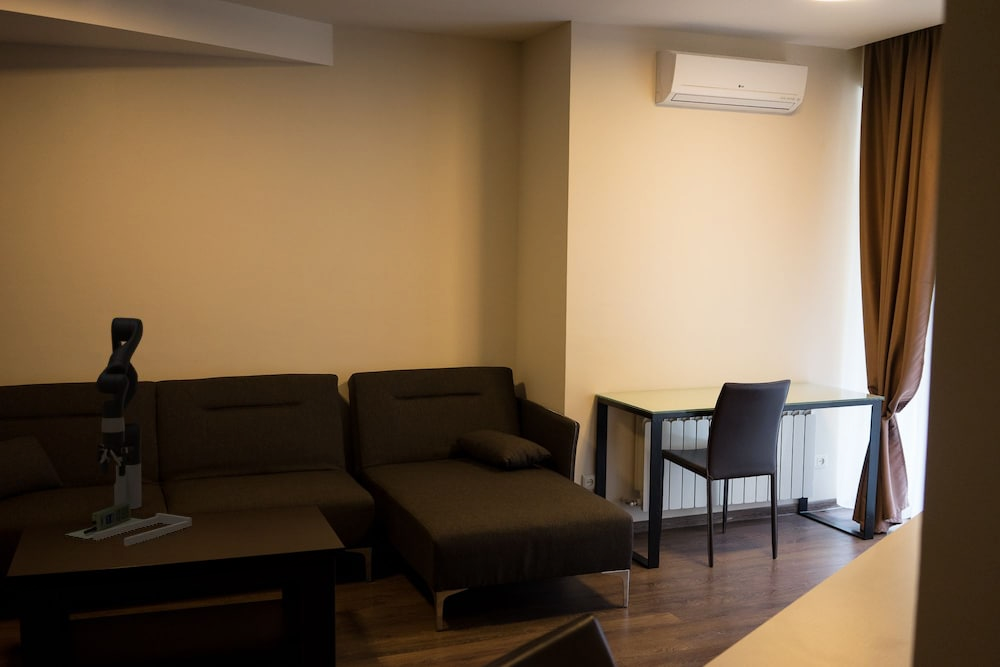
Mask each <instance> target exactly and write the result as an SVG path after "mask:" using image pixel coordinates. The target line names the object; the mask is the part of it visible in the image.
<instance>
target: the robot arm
mask: <svg viewBox="0 0 1000 667" xmlns="http://www.w3.org/2000/svg"><path fill="white" fill-rule="evenodd" d="M110 324H111V325H110V335H111V337H110V338H111V350H112V351H111V352H112V353H111V355H110V357H109V359H108V362H107V366H106V367H105V368H104V369H103V371H101V373H100V374H99V376H98V377H97V379H96V383H95V384H96V385H95V387H96V390H97V391H98V393H99V394H103V395H111V396H112V399H110V400H105V401H104V402H102V407H101V409H102V410H101V411H102V416H101V417H102V418H101V419H102V420H101V444H97V446H96V461H97V462H99V463H100V464H101V474H102V475H107V474H109V463H108V462H109V461H110V459H113V460H114V461H115V483H114V484H113V491H114V492H113V493H114V495H113V496H114V498H113V499H114V500H113V501H114V505H113V506H115V505H118V504H120V503H123V502H130V510H135V509H140V508H141V507H142V436H143V435H142V433H143V432H142V426H141V425H142V424H141V423H139V422H125V417H124V414H125V412H126V410H127V409H128V407H129V405H131V403H132V401H134V399H135V397H136V396H137V393H138V391H139V390H138V389H139V374H138V372H137V370H136V368H135V366H134V365H133V363H132V362H131V359H132V357H133V356H134V354H135V352H136V350H137V348H138V346H139V345H140V342H141V340H142V337H143V333H144V324H143V321H142V319H141V318H136V317H119V316H118V317H114V318H113V319H112V321H111V323H110ZM130 447H131V449H130Z"/></svg>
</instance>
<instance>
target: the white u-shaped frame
mask: <svg viewBox="0 0 1000 667" xmlns="http://www.w3.org/2000/svg"><path fill="white" fill-rule="evenodd" d="M192 522H193V521H192V517H189V516H188V517H187V516H182V515H174V514H168V513H161V512H157V513H155V516H152V517H149V518H145V519H143V520H141V521H137V522H133V523H130V524H126V525H122V526H118V527H115V528H111V529H107V530H103V531H100V532H96V533H93V538H92V539H93V541H94V540H96V541H95V542H98V541H100V539H102V540H105V539H104V538H106V539H108V538H107V537H109V538H112V537H111V536H113V537H115V536H114V535H116V536H118V535H117V534H120V535H122V534H121V533H124V532H127V533H129V532H128V531H131V530H134V531H136V530H135V529H138V528H142V527H145V528H147V527H146V526H149V527H151V526H150V525H152V526H154V524H156V525H158V524H157V523H163V524H162V525H164V524H171V525H165V526H163V527H159V528H156V529H153V530H149V531H145V532H141V533H139V534H134V535H131V536H127V537H124V538H123V546H124V547H130V546H133V544H134V545H137V544H140V543H143V541H144V542H147V541H150V539H151V540H153V538H154V539H156V537H157V538H160V537H159V536H161V537H163V536H162V535H164V536H166V535H165V534H167V533H171V532H174V531H177V530H180V529H183V528H186V527H189V526H192ZM142 529H143V528H142ZM138 530H139V529H138ZM131 532H132V531H131ZM174 533H175V532H174ZM124 534H125V533H124ZM171 534H172V533H171ZM97 540H98V541H97ZM146 540H147V541H146ZM136 543H137V544H136Z"/></svg>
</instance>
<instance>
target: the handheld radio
mask: <svg viewBox="0 0 1000 667" xmlns="http://www.w3.org/2000/svg"><path fill="white" fill-rule="evenodd" d="M131 512H132V511H131V509H130V502H123V503H120V504H118V505H115V506H114V505H112V506H110V507H107V508H103V509H100V510H98V511H95V512H93V513H91V515H92V517H91V518H92V522H91V524H92V527H93V528H92V527H90V528H91V529H88V528H87V529H88V530H85V531H84V534H88V533H90V532H93V533H96V532H100V531H102V530H105V529H107V528H110V527H112V526H115V525H117V524H120V523H122V522H125V521H127V520H130V519H131V518H132V517H131Z"/></svg>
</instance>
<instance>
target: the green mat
mask: <svg viewBox="0 0 1000 667" xmlns="http://www.w3.org/2000/svg"><path fill="white" fill-rule="evenodd" d="M141 520H144V519H142V518H135V517H131V519H130V520H127V521H125V522H122V523H120V524H117V525H115V526H112V527H110V528H107V529H111V528H115V527H118V526H122V525H126V524H130V523H133V522H137V521H141ZM91 528H93V526H91V527H89V528H85V529H81V530H76V531H74V532H70V533H65V534H64V536H65V535H69V536H73V537H72V538H74V537H79V538H83V539H82V540H85V539H89V540H91V539H90V538H92V539H93V532H90V533H88V534H84V531H85V530H88V529H91ZM107 529H105V530H107ZM102 531H103V530H102ZM79 538H78V539H79Z"/></svg>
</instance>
